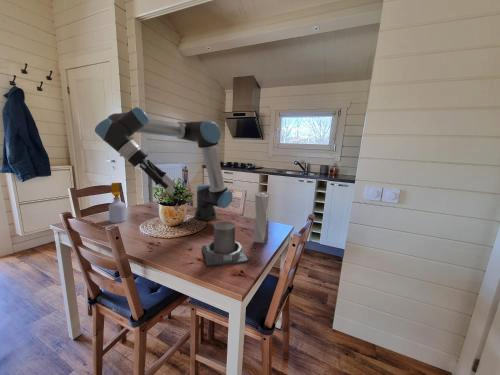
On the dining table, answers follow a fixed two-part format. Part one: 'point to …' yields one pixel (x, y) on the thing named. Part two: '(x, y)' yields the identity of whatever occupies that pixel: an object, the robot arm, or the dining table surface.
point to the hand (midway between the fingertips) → (173, 189)
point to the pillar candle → (224, 237)
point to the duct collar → (223, 256)
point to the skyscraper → (261, 218)
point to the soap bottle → (117, 206)
